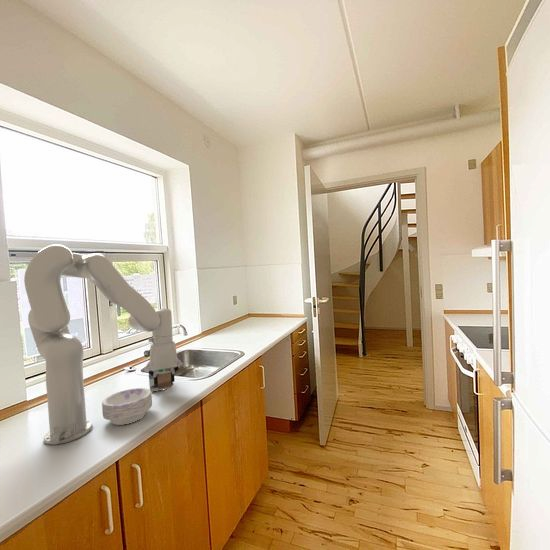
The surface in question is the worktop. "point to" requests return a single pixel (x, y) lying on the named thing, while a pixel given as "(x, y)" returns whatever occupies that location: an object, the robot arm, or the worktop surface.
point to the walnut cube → (164, 379)
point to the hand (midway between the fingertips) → (164, 384)
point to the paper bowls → (127, 405)
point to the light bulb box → (151, 381)
